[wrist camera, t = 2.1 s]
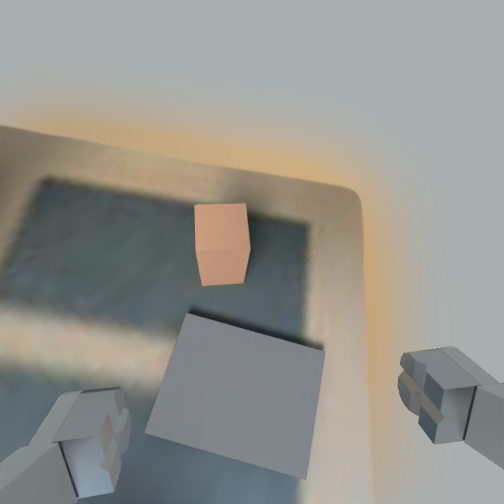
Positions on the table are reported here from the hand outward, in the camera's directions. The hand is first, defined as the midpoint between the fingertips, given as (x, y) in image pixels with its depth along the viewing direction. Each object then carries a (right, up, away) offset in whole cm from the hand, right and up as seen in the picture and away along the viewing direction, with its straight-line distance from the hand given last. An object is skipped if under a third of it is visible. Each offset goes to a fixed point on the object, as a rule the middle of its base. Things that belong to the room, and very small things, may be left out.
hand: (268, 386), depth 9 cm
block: (-4, +2, +29) cm, 30 cm away
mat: (-2, -11, +24) cm, 26 cm away
